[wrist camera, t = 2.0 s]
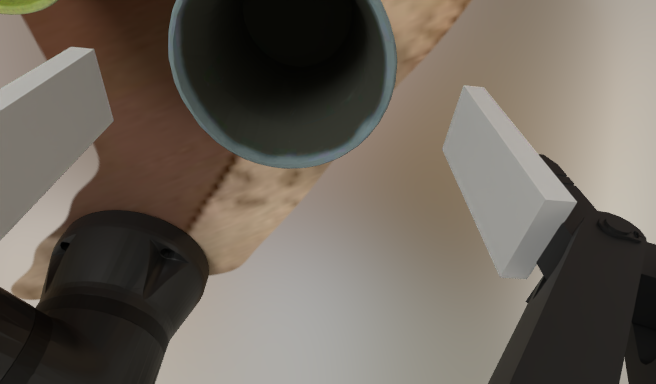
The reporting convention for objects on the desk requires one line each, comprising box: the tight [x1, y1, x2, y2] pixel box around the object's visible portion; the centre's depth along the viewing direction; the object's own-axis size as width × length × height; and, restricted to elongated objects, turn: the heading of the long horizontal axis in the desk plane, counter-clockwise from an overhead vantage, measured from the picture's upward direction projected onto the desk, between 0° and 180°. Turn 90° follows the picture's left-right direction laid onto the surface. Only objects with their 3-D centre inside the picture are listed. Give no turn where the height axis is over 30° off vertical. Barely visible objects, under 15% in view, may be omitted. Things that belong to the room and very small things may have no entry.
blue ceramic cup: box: [168, 0, 397, 168], centre depth 21 cm, size 10×10×12 cm
